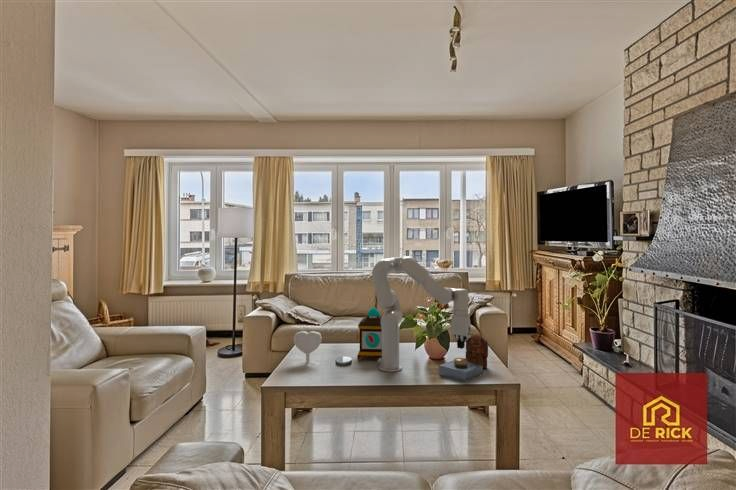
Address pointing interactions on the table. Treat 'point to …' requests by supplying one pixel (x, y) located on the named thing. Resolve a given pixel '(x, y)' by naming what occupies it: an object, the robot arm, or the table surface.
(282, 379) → the table surface
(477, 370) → the block
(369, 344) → the decorative lantern
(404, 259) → the robot arm
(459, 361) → the bushing
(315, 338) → the heart sculpture
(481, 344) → the wooden figurine
